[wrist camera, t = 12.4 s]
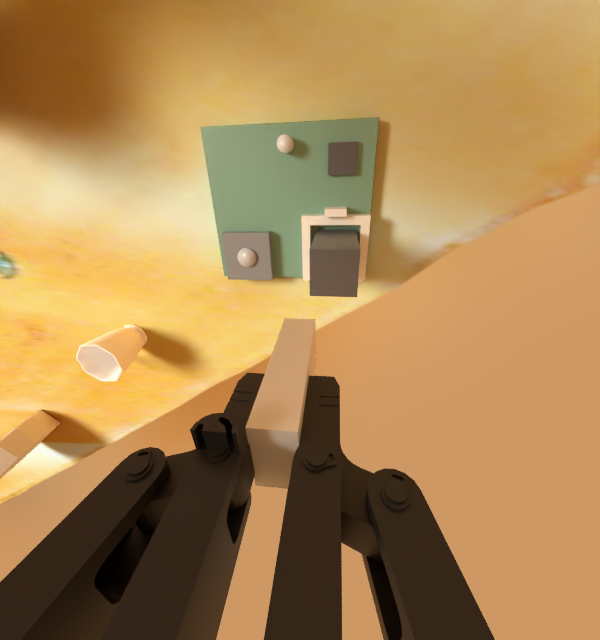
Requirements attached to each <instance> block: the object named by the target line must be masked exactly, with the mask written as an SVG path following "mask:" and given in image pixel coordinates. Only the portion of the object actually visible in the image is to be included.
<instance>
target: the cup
mask: <svg viewBox="0 0 600 640" xmlns="http://www.w3.org/2000/svg"><path fill="white" fill-rule="evenodd" d="M147 339H148V338H147V336H146V334H145V332H144V330H143V329H141V328H140V327H138V326H136V325H135V324H134V325H125V326H124V328H119V329H117V330H114V331H111V332H108V333H106V334H104V335H102V336H99V337H97V338H95V339H93V340H91V341H88V342H86V343H84V344H82V345H80V347H79V350H78V352H77V355H76V358H77V360H78V361H79V363H80V365H81V366H82V368H83V370H84V371H85V372H86V373H88V374H90V375H91V376H93V377H95V378H97V379H98V380H100V381H118V379H119V378H120V377H121V376H122V374H123V373H124V372H125V370H126V369H127V368H128V367H129V365H130V364H131V363H132V362H133V360H134V359H135V357H136V356H137V354H138V352H139V351H140V349H141V347H142V346H144V345H145V343H146V341H147Z"/></svg>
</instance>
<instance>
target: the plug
mask: <svg viewBox="0 0 600 640" xmlns="http://www.w3.org/2000/svg"><path fill="white" fill-rule="evenodd" d="M309 254H310V296H339V297H357V289H358V276H359V263H360V246H359V242H358V238H357V235H356V231H355V229H318V230H317V232H316V234H315V237H314V239H313V242H312V244H311V247H310V249H309Z"/></svg>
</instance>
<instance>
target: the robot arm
mask: <svg viewBox="0 0 600 640" xmlns="http://www.w3.org/2000/svg"><path fill="white" fill-rule="evenodd" d="M315 364H316V363H315V319H286V318H285V319H284V322H283V325H282V328H281V330H280V333H279V336H278V339H277V342H276V344H275V347H274V350H273V353H272V355H271V358H270V361H269V364H268V367H267V369H266V372H265V374H258V373H247V374H246V375H245V376H243V377H242V378H241V379H240V380H239V381H238V383H237V385H236V388H235V389H234V393H233V394H232V396H231V398H230V401H229V402H228V404H227V406H226V409H225V411H224V413H217V414H211V415H208V416H205V417H203V418H202V419H200V420H199V421H198V422H196V423H195V424H194V426H193V427H192V428H191V429H190V431H191V434H192V437H193V440H194V443H195V446H196V449H195V450H192V451H189V452H185V453H181V454H176V455H171V456H167V457H165V454H164V452H163V451H161V450H160V449H159V448H152V447H149V448H145V449H141V450H138V451H136V452H134V453H132V454H131V455H129V456H128V457H127V458H126V459H124V460H123V461H122V462H121V463H120V464H119V465H118V466H117V467H116V468H115V469H114V470H113V471H112V472H111V473H110V474H109V475H108V476H107V477H106V478H105V479H104V480H103V481H102V482H101V483H100V484H99V485H98V486H97V487H96V488H95V489H94V490H93V491H92V492H91V493H90V494H89V495H88V496H87V497H86V498H85V499H84V500H83V501H82V502H81V503H80V504H79V505H78V506H77V507H76V508H75V509H74V510H73V511H72V512H71V513H70V514H69V515H68V516H67V517H66V518H65V519H64V520H63V521H62V522H61V523H60V524H59V525H58V526H56V527H55V528H54V529H53V530H52V531H51V532H50V533H49V535H47V536H46V537H45V538H44V539H43V540H42V541H41V542H40V543H39V544H38V545H37V547H35V548H34V549H33V550H32V551H31V552H30V553H29V554H28V555H27V556H26V557H25V558H24V559H23V560H22V561H21V562H20V563H19V564H18V565H17V566H16V567H15V568H14V569H13V570H12V571H11V572H10V573H9V574H8V575H7V576H6V577H5V578H4V579H3V580H2V581H1V582H0V640H216V637H217V633H218V629H219V625H220V621H221V618H222V614H223V610H224V606H225V602H226V598H227V595H228V590H229V587H230V583H231V579H232V575H233V571H234V567H235V564H236V560H237V556H238V552H239V548H240V544H241V540H242V536H243V533H244V528H245V525H246V521H247V517H248V513H249V510H250V505H251V493H250V489H251V486H252V482H253V478H255V484H256V485H259V486H268V487H278V488H287V489H288V493H287V499H286V505H285V512H284V518H283V524H282V530H281V536H280V543H279V549H278V556H277V562H276V568H275V574H274V581H273V586H272V593H271V599H270V605H269V612H268V618H267V624H266V630H265V637H264V640H342V593H341V592H342V586H341V585H342V582H341V581H342V580H341V579H342V578H341V577H342V576H341V542H342V543H343V544H345V545H347V546H349V547H351V548H353V549H354V550H356V551H358V552H360V553H362V556H363V561H364V564H365V568H366V572H367V576H368V580H369V584H370V588H371V592H372V595H373V599H374V603H375V607H376V611H377V615H378V619H379V623H380V627H381V631H382V634H383V638H384V640H495V639H494V637H493V635H492V633H491V631H490V629H489V627H488V626H487V623H486V621H485V619H484V617H483V615H482V613H481V611H480V609H479V607H478V605H477V603H476V601H475V599H474V597H473V595H472V593H471V591H470V589H469V587H468V585H467V583H466V580H465V578H464V576H463V574H462V572H461V571H460V569H459V566H458V564H457V562H456V560H455V558H454V556H453V554H452V552H451V550H450V548H449V546H448V544H447V542H446V540H445V538H444V536H443V534H442V532H441V530H440V528H439V526H438V524H437V522H436V520H435V518H434V516H433V514H432V512H431V510H430V508H429V506H428V504H427V502H426V500H425V498H424V496H423V494H422V492H421V490H420V488H419V487H418V486H417V484H416V483H415V481H414V480H413V479H411V478H410V477H409V476H408V475H406V474H405V473H403V472H400V471H398V470H395V469H382V470H379V471H377V472H375V473H371V472H369V471H367V470H364V469H362V468H360V467H358V466H356V465H354V464H353V463H351V462H350V461H349V460H348V459H347V458H346V456H345V455H344V454H343V452H342V449H341V446H340V397H339V396H340V394H339V392H340V390H339V389H340V388H339V385H338V383H337V381H336V379H335V378H334V377H327V376H314V373H315Z"/></svg>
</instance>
